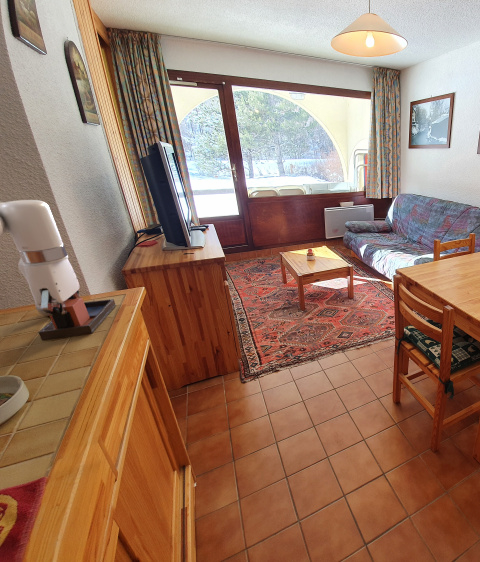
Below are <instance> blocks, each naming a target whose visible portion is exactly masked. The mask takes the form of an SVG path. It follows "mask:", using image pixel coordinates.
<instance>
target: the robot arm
mask: <svg viewBox="0 0 480 562" xmlns="http://www.w3.org/2000/svg"><path fill="white" fill-rule="evenodd" d="M2 234H9V235H10V236H11V238H12V241H13V243H14V244H15V247H16V250H17V252H18V253H19V256H20V259H22V261H23V263H24V265H25V273H26V278H27V280H26V282H27V281H28V282H27V284H28V287H29V290H30V292H31V295H32V298H33V300H34V303H35V302H36V304H37V305H41V310H42V311H45V312H47V313H49V314H50V316H52V317H53V319H54V322H55V324H56V326H57V328H58V329H60V328H67V327H73V326H74V322H73V320H72V317H71V315H70V313H69V312H67V311H66V306H65V300H67V299H76V298H81V297H80V296H79V295H80V291H79V290H80V283H79V280H78V277H77V274H76V272H75V270H74V268H73V266H72V264H71V262H70V260H69V255H68V252H67V249H66V247H65V244H64V242H63V239H62V237H61V234H60V231H59V229H58V226H57V224H56V221H55V219H54V215H53V213H52V210H51V208H50V205H48V204H47V202H45V201H43V200H39V199H21V200H12V201H11V200H10V201H6V202H5V201H3V202H2V201H0V236H2ZM52 300H57V302H52ZM57 304H59V305H60V308H58V307H54V305H57ZM50 316H49V317H50Z"/></svg>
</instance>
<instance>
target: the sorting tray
mask: <svg viewBox="0 0 480 562" xmlns="http://www.w3.org/2000/svg"><path fill="white" fill-rule="evenodd" d="M83 302H84V304H85V307H86V309H87V312H88V314H89V317H90V318H89V319H88V320H87V321H86V322H85V323H84V324H83V325H82V326H75V327H67V328H60V329H55V327H54V324H53V322H52V320H51V321H50V322H48V323H46V325H45V326H44V327H43V328H41V329H40V330H39V331H38V332H37V333H38V335H39V337H40V339H41V341H42V342H43V341H49V340H57V339H64V338H70V337H78V336H84V335H85V336H86V335H92V334H93V333H94V332H96V330H97V329H98V328H99V327H100V325H101V324H102V323H103V322H104V321H105V319H107V317H108V316H109V315H110V314H111V313H112V311H113V310H114V309H116V307H117V304H116V302H115V299H114V298H110V299H101V300H92V301H83Z"/></svg>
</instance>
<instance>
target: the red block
mask: <svg viewBox="0 0 480 562" xmlns="http://www.w3.org/2000/svg"><path fill="white" fill-rule="evenodd" d="M84 302H85V301H84V299H83V297H80V298H76V299H67V300H65V306H66V311H67V312H69V313H70V315H71V317H72V320H73V322H74V326H73V327H75V326H82V325H83V324H84V323H85V322H86V321H87V320H88V319H89V318H90V317H89V314H88V312H87V309H86V307H85V304H84ZM54 307H58V308H60V305H59V304H57V305H54ZM49 315H50V314H49ZM49 317H50V320H51V321H52V322H53V324H54V327H55V329H58V328H57V326H56V324H55V322H54V319H53V317H52V316H49Z"/></svg>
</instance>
